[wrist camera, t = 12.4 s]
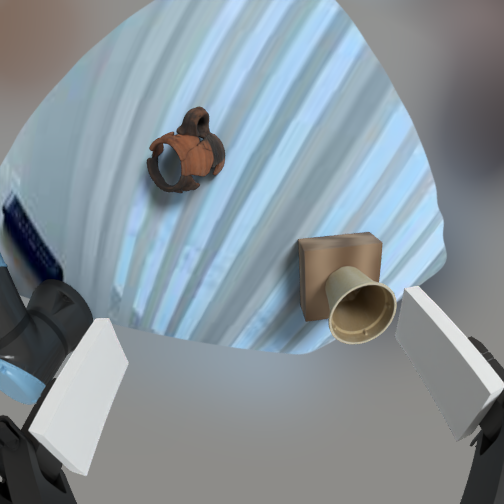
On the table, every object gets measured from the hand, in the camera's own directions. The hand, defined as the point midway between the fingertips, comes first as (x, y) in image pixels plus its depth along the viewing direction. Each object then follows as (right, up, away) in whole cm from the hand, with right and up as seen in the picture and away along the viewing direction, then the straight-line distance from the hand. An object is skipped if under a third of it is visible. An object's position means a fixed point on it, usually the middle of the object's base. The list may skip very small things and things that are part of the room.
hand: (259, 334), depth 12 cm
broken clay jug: (-9, +18, +27) cm, 34 cm away
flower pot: (+13, -1, +30) cm, 33 cm away
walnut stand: (+13, +1, +34) cm, 37 cm away
